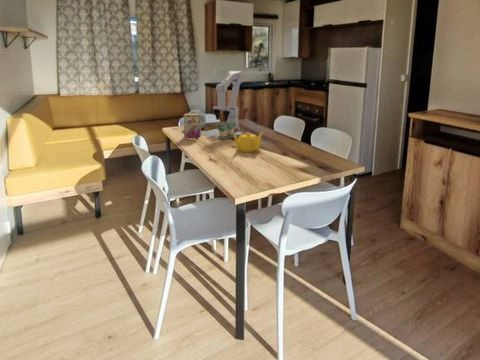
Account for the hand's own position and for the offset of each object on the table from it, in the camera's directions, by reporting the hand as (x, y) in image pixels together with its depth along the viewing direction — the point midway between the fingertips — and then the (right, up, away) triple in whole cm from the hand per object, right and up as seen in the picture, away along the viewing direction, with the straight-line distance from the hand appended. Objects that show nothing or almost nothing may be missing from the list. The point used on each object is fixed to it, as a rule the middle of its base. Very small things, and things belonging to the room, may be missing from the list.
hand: (221, 120), depth 282 cm
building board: (-2, -11, 0) cm, 11 cm away
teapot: (+19, -25, -42) cm, 52 cm away
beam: (+4, -7, -6) cm, 10 cm away
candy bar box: (-20, -14, -9) cm, 25 cm away
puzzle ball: (-21, -4, +18) cm, 28 cm away
